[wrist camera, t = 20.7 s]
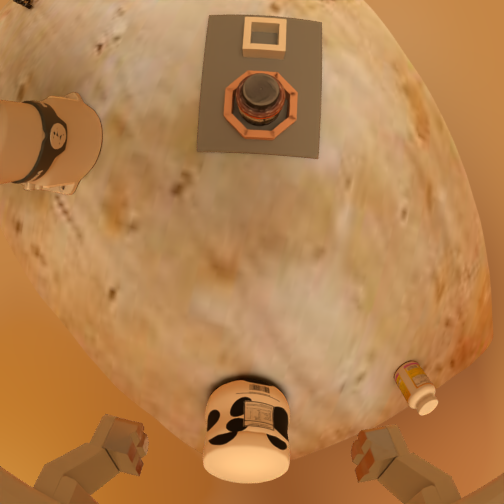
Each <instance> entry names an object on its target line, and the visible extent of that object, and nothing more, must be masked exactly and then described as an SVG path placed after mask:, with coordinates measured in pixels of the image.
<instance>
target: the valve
mask: <svg viewBox="0 0 504 504" xmlns="http://www.w3.org/2000/svg"><path fill="white" fill-rule="evenodd" d="M13 1H14V2H16V3H18V4H20V5H22V6H25V7H26V8H28V9H30V8H31V7H32V5H29V3H30V1H31V0H23V1H22V0H13ZM27 1H28V3H26V2H27Z"/></svg>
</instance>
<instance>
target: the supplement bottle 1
mask: <svg viewBox="0 0 504 504" xmlns="http://www.w3.org/2000/svg"><path fill="white" fill-rule="evenodd" d="M236 101H237V105H238V107H239V111H240V113H241V115H242V117H243V118H244V119H245V120H246V121H247V122H248V123H250V124H252V125H255V126H265V125H268V124H270V123H272V122H273V121H275V119H276V118H277V117H278V115H279V113H280V111H281V109H282V107H283V105H284V102H285V90H284V87H283V85H282V84H281V82H280V81H279V80H278V79H276V78H275V77H273V76H271V75H269V74H265V73H255V74H252V75H249V76H247V77H245V78H244V79H243V80H242V81H241V82H240V83H239V85H238V87H237V90H236Z"/></svg>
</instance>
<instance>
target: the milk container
mask: <svg viewBox="0 0 504 504" xmlns="http://www.w3.org/2000/svg"><path fill="white" fill-rule="evenodd" d="M205 420H206V425H207V433H206V438H205V443H204V450H203V463H204V467H205V469H206V470H207V471H208V472H209V473H210V474H212V475H214V476H216V477H218V478H220V479H223V480H227V481H230V482H238V483H260V482H265V481H269V480H273V479H275V478H277V477H280V476H281V475H283V474H284V473H285V472H286V471H287V470H288V467H289V463H290V451H289V441H288V434H287V430H288V425H289V421H290V410H289V405H288V403H287V400H286V398H285V396H284V395H283V393H282V392H281V391H279V390H278V389H277V388H276V387H275V386H273V385H271V384H268V383H266V382H263V381H258V380H250V379H245V380H235V381H231V382H229V383H226V384H223V385H222V386H220V387H219V388H217V389H216V390H215V391H214V392H213V393H212V395H211V396H210V398H209V400H208V403H207V405H206V410H205Z"/></svg>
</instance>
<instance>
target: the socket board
mask: <svg viewBox="0 0 504 504" xmlns="http://www.w3.org/2000/svg"><path fill="white" fill-rule="evenodd" d="M255 73H265V74H269V75H271V76H273V77H275V78H276V79H278V80H279V81H280V82H281V84H282V85H283V87H284V90H285V102H284V105H283V107H282V109H281V111H280V113H279V115H278V117H277V118H276V119H275V121H273V122H272V123H270V124H268V125H265V126H255V125H252V124H250V123H248V122H247V121H246V120H245V119H244V118H243V117H242V115H241V113H240V111H239V107H238V105H237V101H236V90H237V87H238V85H239V83H240V82H241V81H242V80H243V79H244V78H245V77H247V76H249V75H252V74H255ZM321 91H322V22H316V21H310V20H303V19H295V18H286V17H275V16H260V15H209V20H208V28H207V36H206V44H205V53H204V62H203V72H202V83H201V94H200V107H199V121H198V138H197V152H232V153H254V154H270V155H283V156H295V157H305V158H314V159H318V155H319V138H320V119H321Z"/></svg>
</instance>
